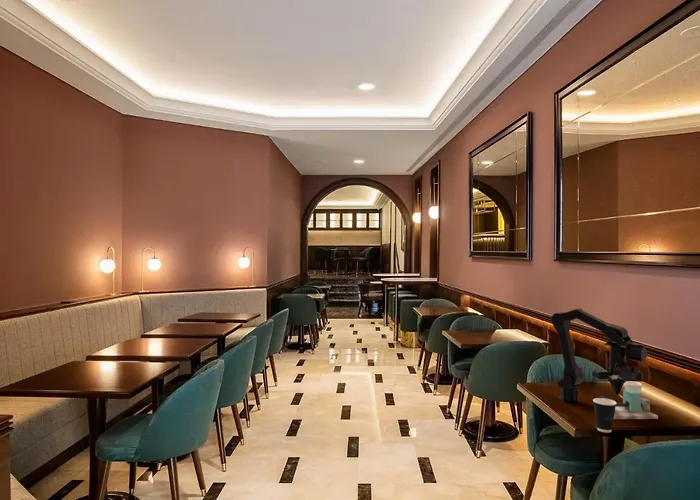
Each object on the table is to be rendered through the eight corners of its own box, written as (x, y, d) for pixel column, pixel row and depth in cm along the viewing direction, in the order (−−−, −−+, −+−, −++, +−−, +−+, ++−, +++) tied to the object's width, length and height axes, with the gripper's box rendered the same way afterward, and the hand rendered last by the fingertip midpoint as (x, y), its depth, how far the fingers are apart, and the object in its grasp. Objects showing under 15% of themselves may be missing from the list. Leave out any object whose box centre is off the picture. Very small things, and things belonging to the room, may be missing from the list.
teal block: (631, 411, 206) (631, 393, 206) (622, 407, 212) (623, 389, 211) (640, 411, 206) (641, 393, 206) (632, 407, 212) (632, 389, 212)
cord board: (614, 419, 201) (614, 404, 201) (595, 407, 215) (595, 393, 215) (657, 418, 202) (658, 403, 202) (636, 407, 216) (636, 393, 216)
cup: (642, 404, 221) (642, 386, 221) (616, 400, 225) (616, 383, 225) (641, 400, 227) (641, 382, 227) (616, 396, 232) (616, 379, 232)
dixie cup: (611, 435, 183) (611, 405, 183) (589, 429, 189) (589, 400, 189) (619, 430, 188) (620, 401, 188) (597, 424, 194) (598, 396, 194)
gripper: (606, 361, 200) (606, 400, 200) (651, 362, 201) (651, 400, 201) (591, 355, 211) (591, 392, 211) (634, 355, 212) (633, 392, 212)
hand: (616, 394), depth 209 cm, fingers closed
